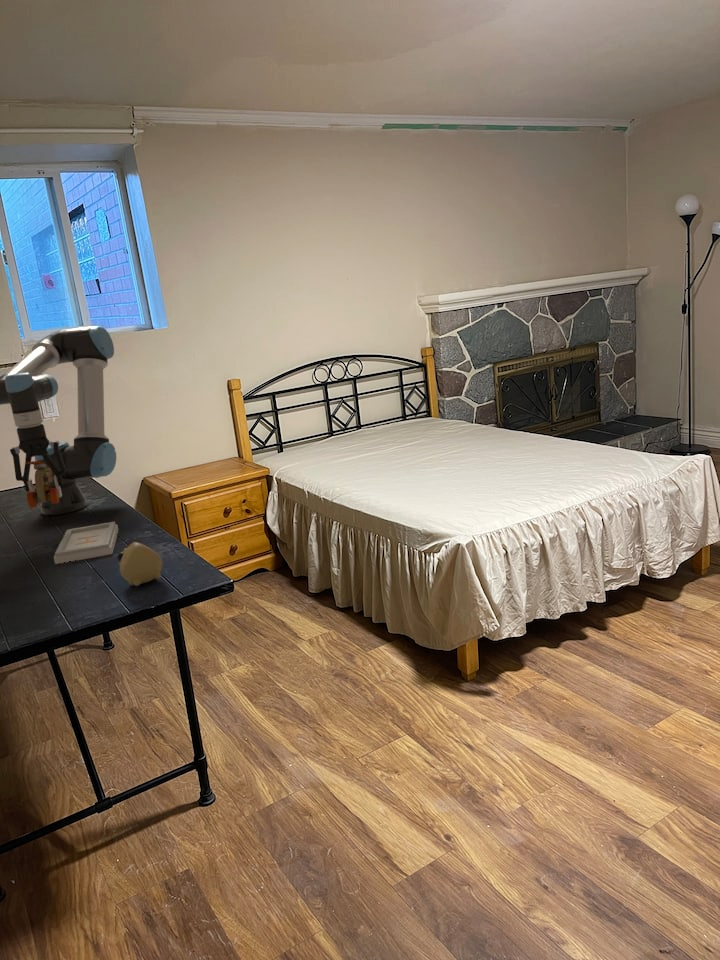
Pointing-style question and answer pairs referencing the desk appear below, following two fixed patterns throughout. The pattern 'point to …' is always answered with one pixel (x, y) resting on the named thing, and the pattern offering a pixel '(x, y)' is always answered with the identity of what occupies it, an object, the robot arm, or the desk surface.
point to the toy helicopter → (42, 485)
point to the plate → (87, 542)
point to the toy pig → (139, 564)
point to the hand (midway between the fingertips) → (47, 498)
